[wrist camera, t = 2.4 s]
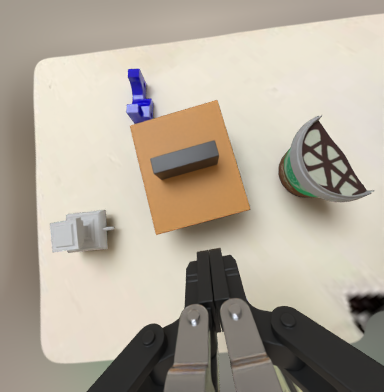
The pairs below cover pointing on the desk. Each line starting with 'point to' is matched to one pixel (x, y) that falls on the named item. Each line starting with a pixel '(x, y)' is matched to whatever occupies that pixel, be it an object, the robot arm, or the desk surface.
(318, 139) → the food container
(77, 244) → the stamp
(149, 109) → the cable holder
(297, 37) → the desk surface
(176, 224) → the lid
